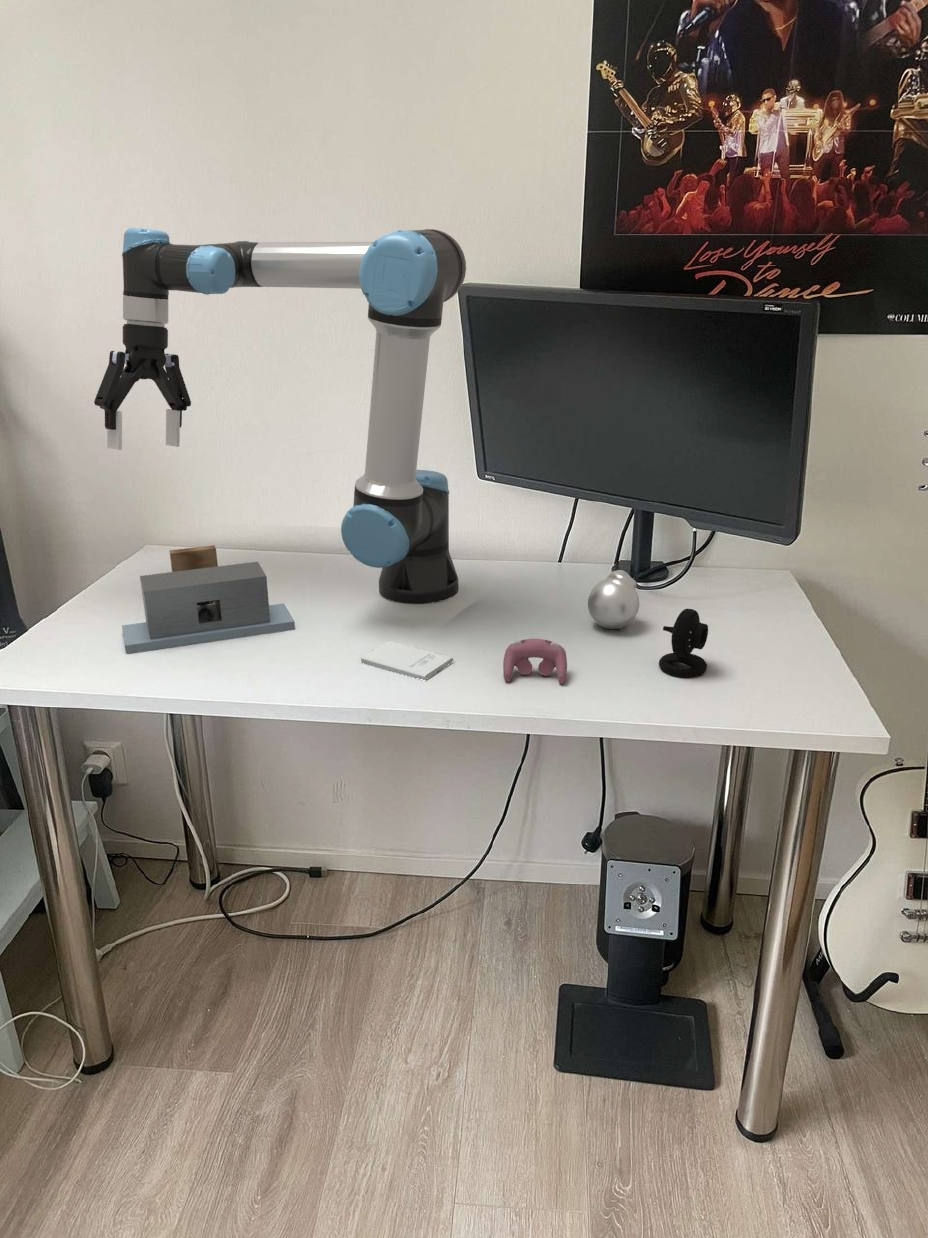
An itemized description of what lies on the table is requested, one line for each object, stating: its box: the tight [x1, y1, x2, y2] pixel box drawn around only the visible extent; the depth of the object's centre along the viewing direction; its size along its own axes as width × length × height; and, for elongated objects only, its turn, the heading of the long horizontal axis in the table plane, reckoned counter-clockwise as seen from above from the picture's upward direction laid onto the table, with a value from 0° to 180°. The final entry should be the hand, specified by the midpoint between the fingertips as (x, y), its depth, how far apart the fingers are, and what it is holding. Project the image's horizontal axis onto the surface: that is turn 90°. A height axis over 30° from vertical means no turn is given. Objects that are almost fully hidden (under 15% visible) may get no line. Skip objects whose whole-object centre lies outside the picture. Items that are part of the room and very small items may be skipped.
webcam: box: [658, 608, 709, 679], centre depth 158 cm, size 8×8×10 cm
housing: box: [121, 561, 296, 655], centre depth 173 cm, size 28×9×10 cm, turn 111°
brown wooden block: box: [169, 545, 219, 606], centre depth 180 cm, size 8×12×10 cm
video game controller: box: [502, 638, 568, 685], centre depth 157 cm, size 10×5×7 cm, turn 84°
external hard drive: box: [360, 640, 454, 681], centre depth 162 cm, size 2×8×12 cm
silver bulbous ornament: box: [587, 569, 640, 630], centre depth 174 cm, size 9×10×10 cm
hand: (144, 447), depth 181 cm, fingers open, 13 cm apart
